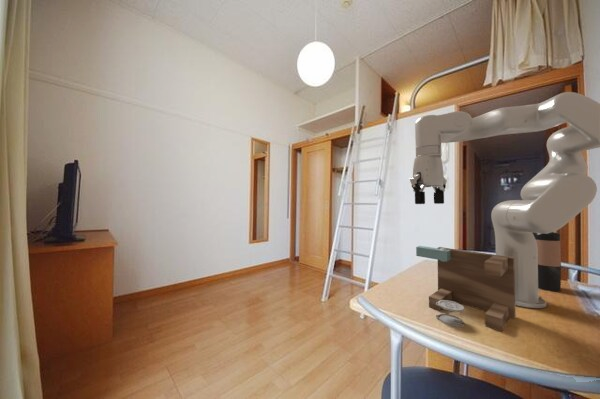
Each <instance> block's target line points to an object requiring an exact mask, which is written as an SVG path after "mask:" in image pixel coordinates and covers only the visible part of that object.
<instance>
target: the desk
mask: <svg viewBox="0 0 600 399" xmlns="http://www.w3.org/2000/svg"><path fill="white" fill-rule="evenodd" d="M437 248H438V249H440V248H444V249H446V250H450V252H451V260H449V261H446V262H443V261H440V260H437V290H436V291H435V292H433V293H432V294H430V295H429V296H428V307H429V308H432V309H435V310H438V311H442V310H444V309H443V308H441V307H440V306H438V305H436V302H438V301H440V300H448V301H453V302H456V303H459V304H461V305H466V306H469V307H473V308H475V309H479V310H483V311H485V314H484V318H485V319H484V322H485V324H484V325H485V327H487V328H491V329H494V330H495V331H499V332H503V330H504V329H505V326H506V324H507V322H508V321H509V319H512V320H515V319H516V314H517V313H516V305H515V263H514V257H508V256H501V255H496V254H494V253H493V254H492V253H485V252H479V251H478V252H477V251H470V250H464V249H463V250H462V249H456V248H455V249H454V248H449V247H443V246H438V247H437ZM437 304H438V303H437Z"/></svg>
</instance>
